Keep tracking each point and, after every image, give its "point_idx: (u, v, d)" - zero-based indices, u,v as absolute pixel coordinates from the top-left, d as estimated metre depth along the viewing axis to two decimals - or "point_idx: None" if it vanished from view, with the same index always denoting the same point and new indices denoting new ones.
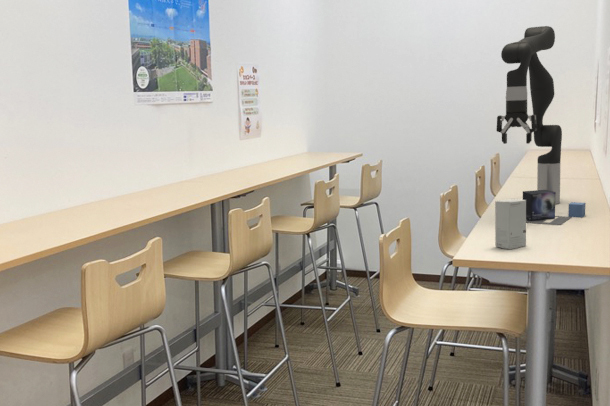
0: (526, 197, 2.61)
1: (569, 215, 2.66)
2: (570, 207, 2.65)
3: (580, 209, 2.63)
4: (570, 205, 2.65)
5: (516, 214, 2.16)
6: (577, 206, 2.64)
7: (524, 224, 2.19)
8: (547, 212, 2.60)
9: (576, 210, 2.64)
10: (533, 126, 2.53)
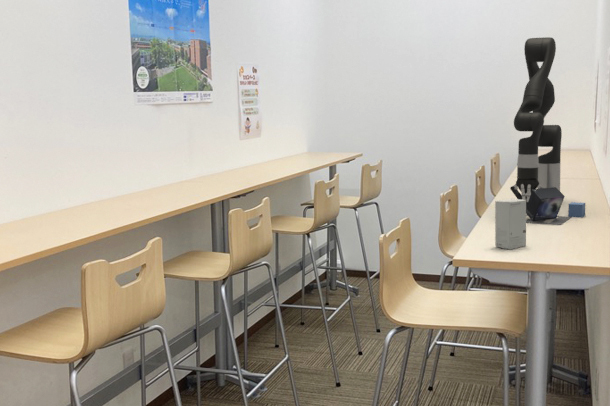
0: (534, 197, 2.56)
1: (569, 215, 2.66)
2: (570, 207, 2.65)
3: (580, 209, 2.63)
4: (570, 205, 2.65)
5: (516, 214, 2.16)
6: (577, 206, 2.64)
7: (524, 224, 2.19)
8: (551, 213, 2.58)
9: (576, 210, 2.64)
10: None
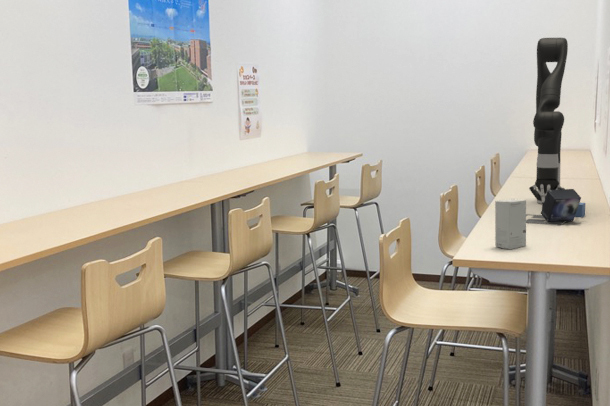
0: (549, 198, 2.52)
1: None
2: None
3: (580, 209, 2.63)
4: None
5: (516, 214, 2.16)
6: None
7: (524, 224, 2.19)
8: (567, 215, 2.54)
9: None
10: None
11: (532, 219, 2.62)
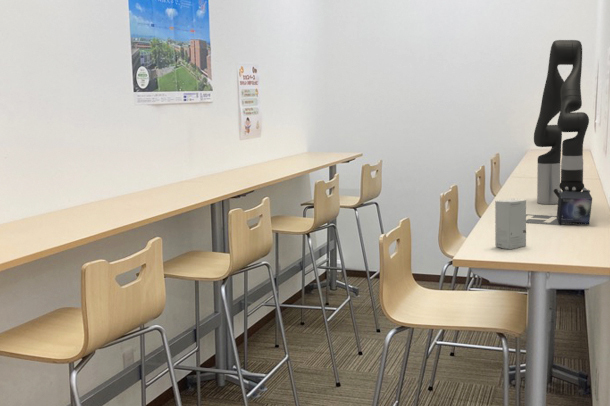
0: (559, 199, 2.51)
1: None
2: None
3: None
4: None
5: (516, 214, 2.16)
6: None
7: (524, 224, 2.19)
8: (580, 217, 2.48)
9: None
10: None
11: (532, 219, 2.62)
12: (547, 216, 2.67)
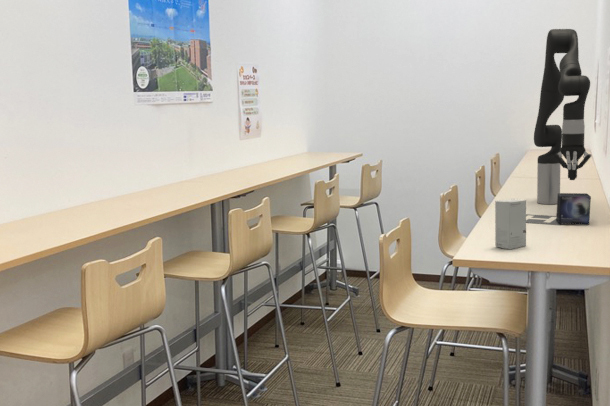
0: (558, 199, 2.53)
1: None
2: None
3: None
4: None
5: (516, 214, 2.16)
6: None
7: (524, 224, 2.19)
8: (579, 216, 2.49)
9: None
10: (581, 164, 2.50)
11: (532, 219, 2.62)
12: (547, 216, 2.67)
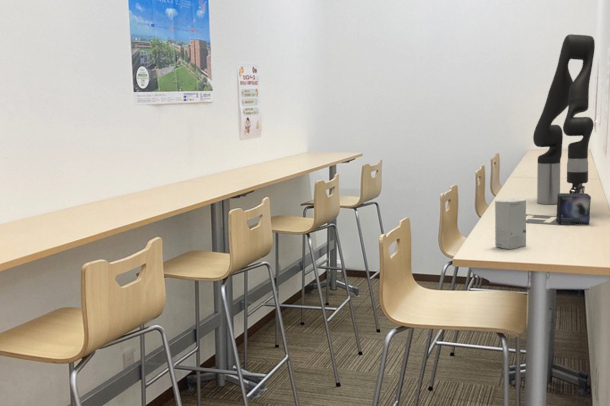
0: (558, 199, 2.53)
1: None
2: None
3: None
4: None
5: (516, 214, 2.16)
6: None
7: (524, 224, 2.19)
8: (579, 216, 2.49)
9: None
10: None
11: (532, 219, 2.62)
12: (547, 216, 2.67)
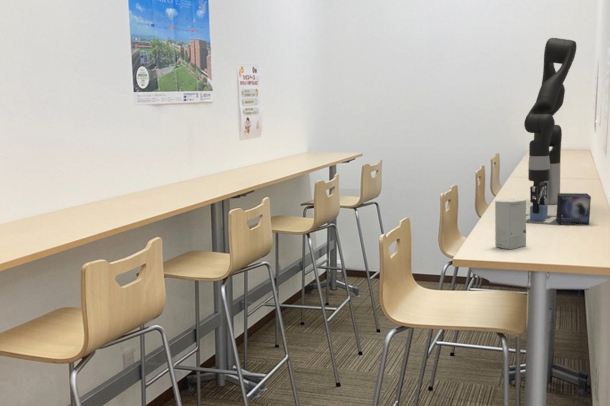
0: (558, 199, 2.53)
1: (531, 217, 2.62)
2: (532, 209, 2.61)
3: (541, 211, 2.59)
4: (532, 207, 2.61)
5: (516, 214, 2.16)
6: None
7: (524, 224, 2.19)
8: (579, 216, 2.49)
9: None
10: None
11: None
12: None
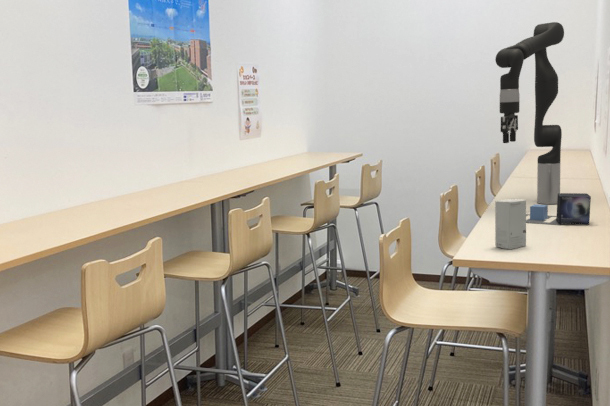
0: (558, 199, 2.53)
1: (531, 217, 2.62)
2: (532, 209, 2.61)
3: (541, 211, 2.59)
4: (532, 207, 2.61)
5: (516, 214, 2.16)
6: (538, 208, 2.60)
7: (524, 224, 2.19)
8: (579, 216, 2.49)
9: (537, 212, 2.60)
10: None
11: None
12: None
